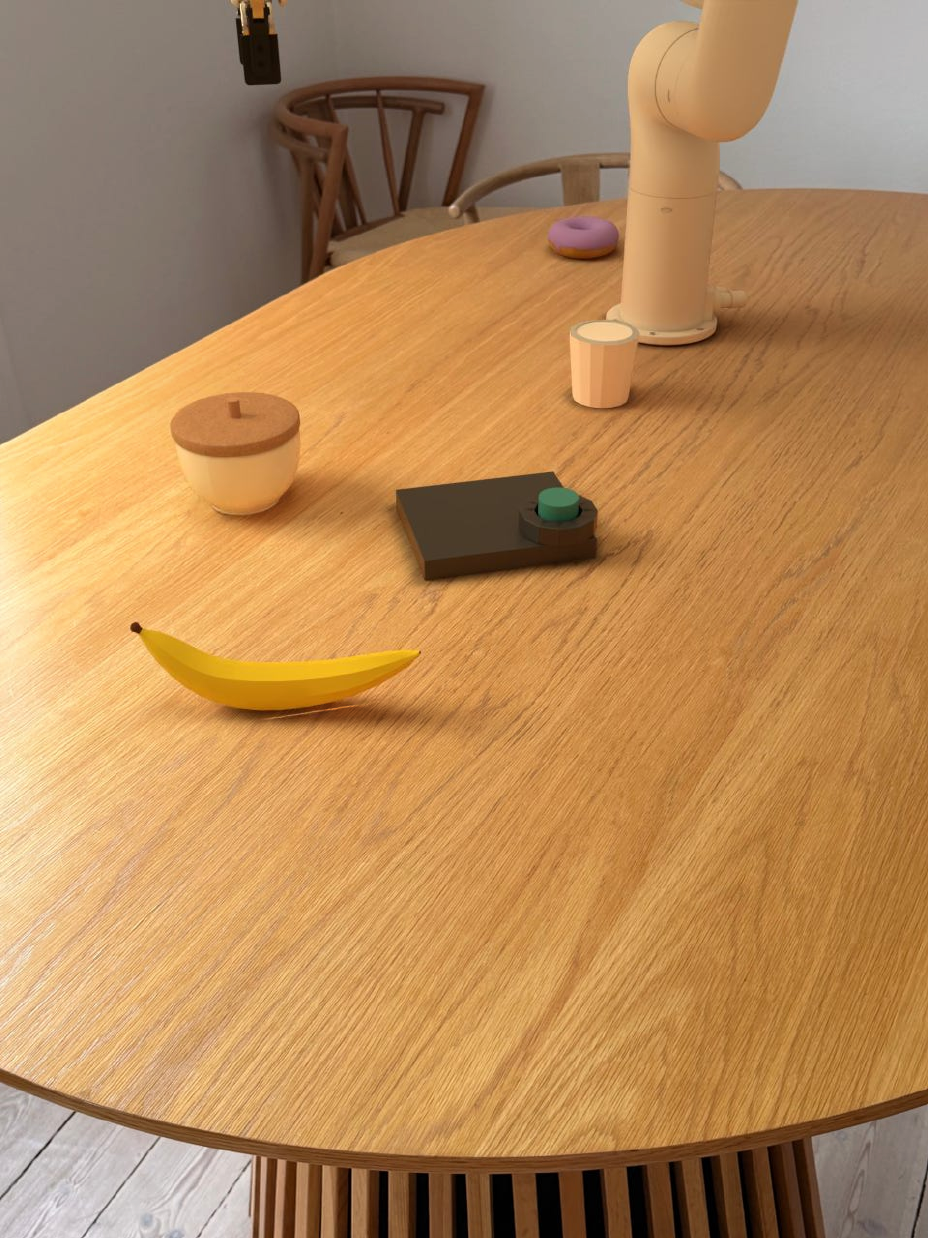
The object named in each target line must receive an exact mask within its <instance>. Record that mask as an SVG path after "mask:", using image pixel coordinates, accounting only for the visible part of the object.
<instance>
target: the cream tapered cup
mask: <svg viewBox="0 0 928 1238" xmlns="http://www.w3.org/2000/svg"><path fill="white" fill-rule="evenodd" d="M638 339H639V331H638V330H637V328H635V327H634V326H632V325H630V324H627V323H624V322H620V321H613V320H606V319H590V320H586V321H581V322H578V323H576V324H574V325H572V326H571V328H570V329H569V350H570V367H571V368H570V369H571V388H572V390H571V391H572V398H573V401H575V402H576V403H578V404H579V405H582V406H585V407H588V408H593V409H594V408H595V409H612V408H616V407H621V406H623V405H624V404H626V403H627V402H628V399H629V397H630V392H631V391H630V390H631V384H632V380H633V373H634V367H635V362H636V355H637V350H638V345H639V342H638Z"/></svg>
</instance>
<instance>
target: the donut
mask: <svg viewBox="0 0 928 1238" xmlns="http://www.w3.org/2000/svg"><path fill="white" fill-rule="evenodd" d="M619 239H620V232H619V229H618V228H617V226H616V225H615V224H614V223H613V222H612V221H609V220H608V219H605V218H603V217H597V216H587V215H581V216H570V217H566V218H561V219H559V220H558V221H556V222H554V223H553V224H552V225H551V227H549V231H548V232H547V240H548V245H549V246H550V248H551V250H553V251H554V252H555V253H557V254H558V255H560V256H563V257H566V258H571V259H579V260H580V259H586V260H587V259H595V258H600V257H603V256H606V255H608V254H610V253H611V252H613V251H614V250H615V249H616V247H617V245H618V242H619Z"/></svg>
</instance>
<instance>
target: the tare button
mask: <svg viewBox="0 0 928 1238" xmlns="http://www.w3.org/2000/svg"><path fill="white" fill-rule="evenodd" d="M579 496H580V495H579V494H578V492H576V491H574V490H573V489H570V488H566V487H564V488H559V487H557V488H549V489H546V490H544V491H542V492H541V493H540V494H539V506H538V514H539V516H540V517H541V518H543V519H545V520H548V521H555V522H565V521H571V520H573V519H575V518H577V517H578V511H579Z"/></svg>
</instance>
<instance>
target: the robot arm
mask: <svg viewBox="0 0 928 1238" xmlns="http://www.w3.org/2000/svg"><path fill="white" fill-rule="evenodd" d="M276 1H277V3H278V5H279V7H285V6H286V5H287V3H288V0H276ZM679 1H680V2H682V3H683V4H685V5H688V6H691V7H693V8H697V9H700V10H701V16H700V20H699V23H698V22H693V21H687V20H676V21H675V20H674V21H667V22H665V23H662V24H660V25H657V26H656V27H654V28H653V29H651V30H650V31H649V32H647V34H646V35H645V36H643V38H641V40H640V41H639V43H638V44H637V46H636V48H635V50H634V52H633V54H632V56H631V60H630V63H629V68H628V72H627V73H628V74H627V102H628V112H629V126H630V127H629V128H630V156H629V157H630V161H629V176H628V187H627V189H628V190H627V202H626V203H627V205H626V218H625V233H624V249H623V262H622V263H623V264H622V279H621V293H620V303H617V304H615V305H613V306H612V307H611V308H609V309H608V310H607V312H606V314H605V320H613V321H620V322H624V323H627V324H630V325H632V326H634V327H635V328H637V330H638V331H639V339H638V344H644V345H645V344H646V345H653V346H654V345H655V346H680V345H688V344H693V343H698V342H700V341H703V340H705V339H708V338H710V337H711V336H712V335H713V334H714V333H716V329H717V327H718V318H717V315H716V314H715V313H719V312H720V310H721V309H730V310H731V309H740V308H745V307H746V304H747V294H746V291H745V290H743V289H742V290H731V291H729V290H727V288H726V286H715V287H711V286H710V285H708V281H709V272H710V264H711V263H710V262H711V253H712V244H713V234H714V226H715V217H716V209H717V208H716V206H717V197H718V191H719V190H718V189H719V180H720V170H721V148H720V143H729V142H734V141H737V140H739V139H741V138H743V137H745V136H746V135H747V134H749V133H750V132H751V131H752V130H753V129H754V128H755V127H756V126H757V125H758V124H759V122H760V121H761V120H762V118H763V117H764V116H765V113H766V112H767V110H768V107H769V105H770V103H771V100H772V99H773V95H774V93H775V90H776V86H777V82H778V79H779V75H780V72H781V68H782V64H783V61H784V56H785V53H786V49H787V45H788V41H789V38H790V34H791V30H792V26H793V23H794V19H795V16H796V15H795V14H796V10H797V7H798V3H799V0H679ZM230 2H231V4H232V5H233V6H234V7H236V15H237V17H235V29H236V37H237V47H238V48H237V50H238V57H239V59H238V60H239V63H240V64H241V65H242V69H243V79H244V83H245V85H247V86H267V85H269V86H270V85H271V86H272V85H279V84H281V82H282V71H281V60H280V47H279V46H280V45H279V36H278V35H279V34H278V33H276V28H275V26H276V25H275V19H274V12H273V0H230Z"/></svg>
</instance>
